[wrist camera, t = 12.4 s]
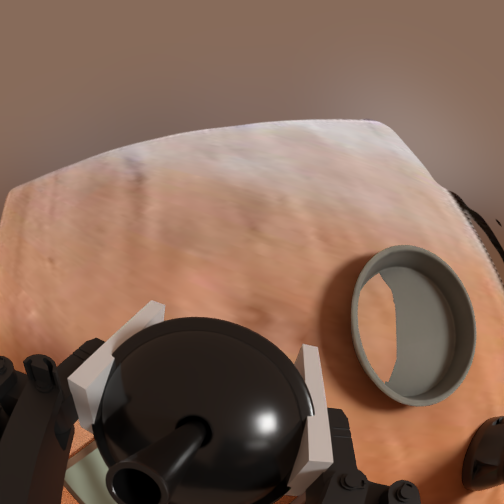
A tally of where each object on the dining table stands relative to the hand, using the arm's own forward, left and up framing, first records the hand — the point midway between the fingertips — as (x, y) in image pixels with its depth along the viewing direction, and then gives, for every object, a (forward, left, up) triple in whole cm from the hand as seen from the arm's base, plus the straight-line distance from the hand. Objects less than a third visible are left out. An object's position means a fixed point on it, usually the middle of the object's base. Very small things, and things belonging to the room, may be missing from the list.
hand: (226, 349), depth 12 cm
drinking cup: (+3, +2, -10) cm, 10 cm away
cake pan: (-23, +16, -21) cm, 35 cm away
